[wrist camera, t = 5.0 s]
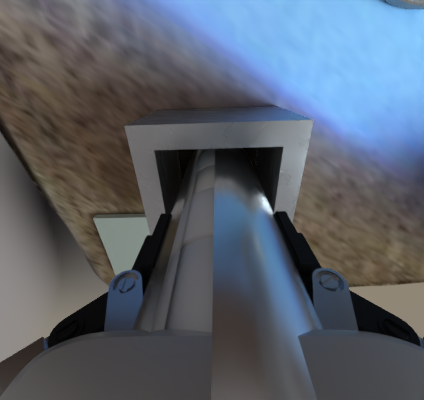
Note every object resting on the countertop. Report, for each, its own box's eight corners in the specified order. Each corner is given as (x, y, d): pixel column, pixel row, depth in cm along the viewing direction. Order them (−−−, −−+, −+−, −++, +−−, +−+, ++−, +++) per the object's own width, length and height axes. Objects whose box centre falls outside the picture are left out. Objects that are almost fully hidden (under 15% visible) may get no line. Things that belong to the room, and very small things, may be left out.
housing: (157, 110, 19) (124, 125, 12) (276, 106, 19) (313, 119, 12) (172, 209, 24) (156, 259, 17) (264, 207, 24) (285, 257, 17)
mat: (96, 214, 25) (92, 218, 24) (177, 212, 25) (176, 216, 24) (118, 270, 30) (115, 275, 29) (185, 269, 30) (184, 274, 29)
